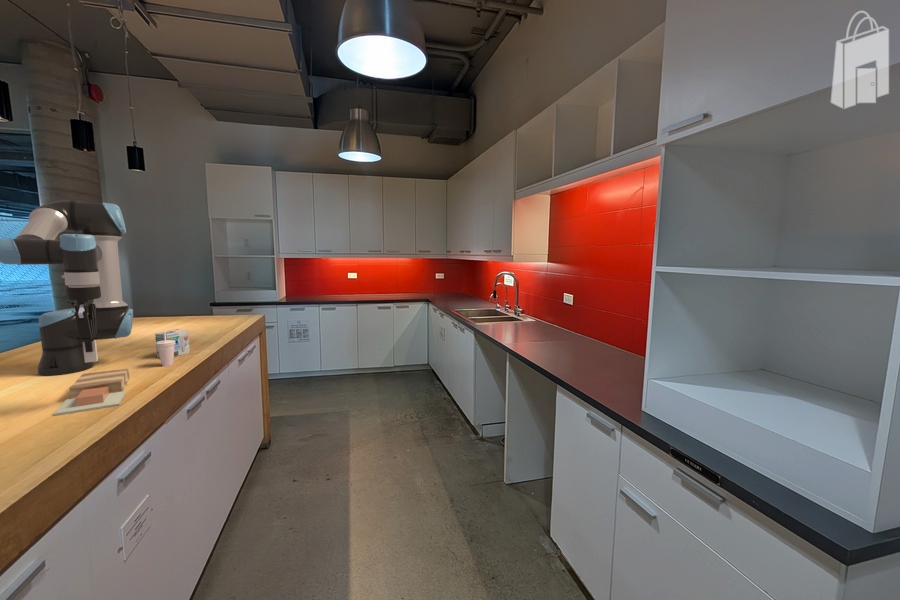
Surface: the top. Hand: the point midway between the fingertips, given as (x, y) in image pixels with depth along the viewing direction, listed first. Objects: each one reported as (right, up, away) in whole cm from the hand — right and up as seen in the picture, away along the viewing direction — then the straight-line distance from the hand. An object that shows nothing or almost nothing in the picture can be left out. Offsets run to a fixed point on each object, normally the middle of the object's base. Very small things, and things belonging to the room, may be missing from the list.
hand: (91, 361), depth 116 cm
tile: (+1, -12, -1) cm, 12 cm away
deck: (-6, -11, +10) cm, 16 cm away
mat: (+2, -13, -2) cm, 13 cm away
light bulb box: (-12, -6, +51) cm, 53 cm away
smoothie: (-4, -8, +37) cm, 38 cm away
